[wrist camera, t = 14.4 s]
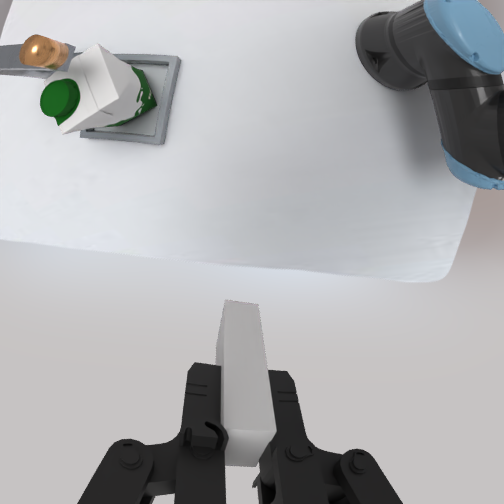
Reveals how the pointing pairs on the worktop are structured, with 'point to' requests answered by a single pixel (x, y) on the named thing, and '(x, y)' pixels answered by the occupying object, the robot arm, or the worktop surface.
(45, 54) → the crank handle
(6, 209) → the worktop surface
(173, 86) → the socket frame
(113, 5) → the worktop surface
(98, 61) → the soya milk
